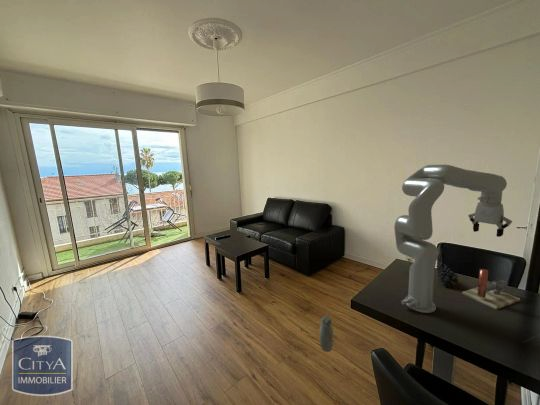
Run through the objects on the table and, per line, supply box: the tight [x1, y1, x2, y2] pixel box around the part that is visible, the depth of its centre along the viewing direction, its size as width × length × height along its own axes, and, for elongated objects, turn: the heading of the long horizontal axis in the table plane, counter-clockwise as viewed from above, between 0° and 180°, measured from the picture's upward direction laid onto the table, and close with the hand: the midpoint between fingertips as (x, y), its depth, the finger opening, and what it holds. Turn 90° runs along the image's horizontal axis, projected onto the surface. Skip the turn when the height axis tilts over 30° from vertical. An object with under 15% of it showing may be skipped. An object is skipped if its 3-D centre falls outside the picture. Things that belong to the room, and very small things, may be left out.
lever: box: [477, 268, 508, 297], centre depth 111 cm, size 19×4×14 cm, turn 109°
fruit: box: [436, 261, 459, 288], centre depth 127 cm, size 9×8×15 cm
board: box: [461, 286, 521, 310], centre depth 113 cm, size 18×14×5 cm
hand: (487, 233), depth 116 cm, fingers open, 9 cm apart
